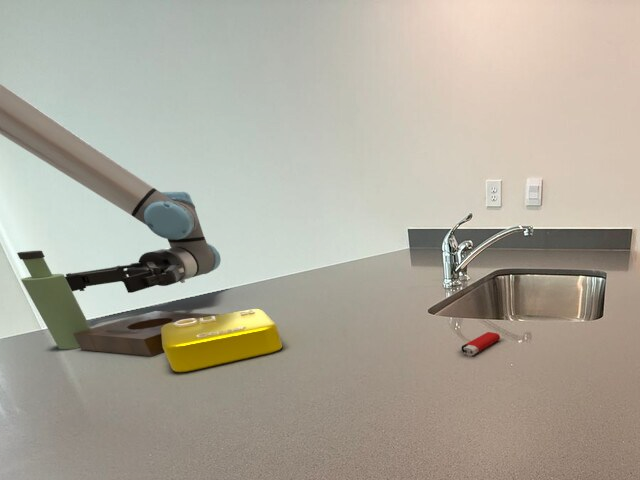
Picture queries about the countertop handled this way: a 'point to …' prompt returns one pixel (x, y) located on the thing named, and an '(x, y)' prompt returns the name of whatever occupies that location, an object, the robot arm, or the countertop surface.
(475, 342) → the lighter
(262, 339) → the element tile
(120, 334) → the hole board
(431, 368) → the countertop surface
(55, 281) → the bottle
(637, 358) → the countertop surface
